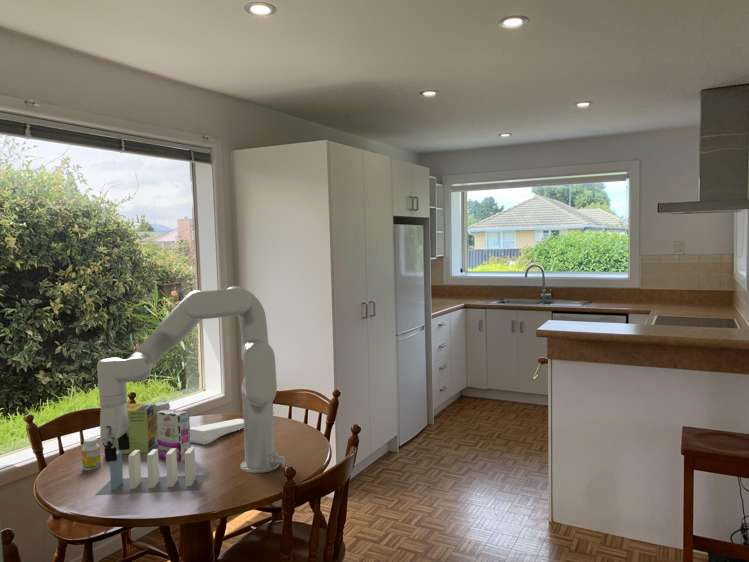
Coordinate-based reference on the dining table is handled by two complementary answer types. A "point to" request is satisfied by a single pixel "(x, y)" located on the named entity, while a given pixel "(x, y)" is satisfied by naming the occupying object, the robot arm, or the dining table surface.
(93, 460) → the supplement bottle
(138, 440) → the protein box
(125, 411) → the robot arm
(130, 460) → the domino
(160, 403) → the coffee cup
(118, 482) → the domino placed
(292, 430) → the dining table surface
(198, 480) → the mat
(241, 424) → the wall bracket
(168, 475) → the domino
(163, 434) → the candy bar box
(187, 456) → the domino
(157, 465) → the domino
